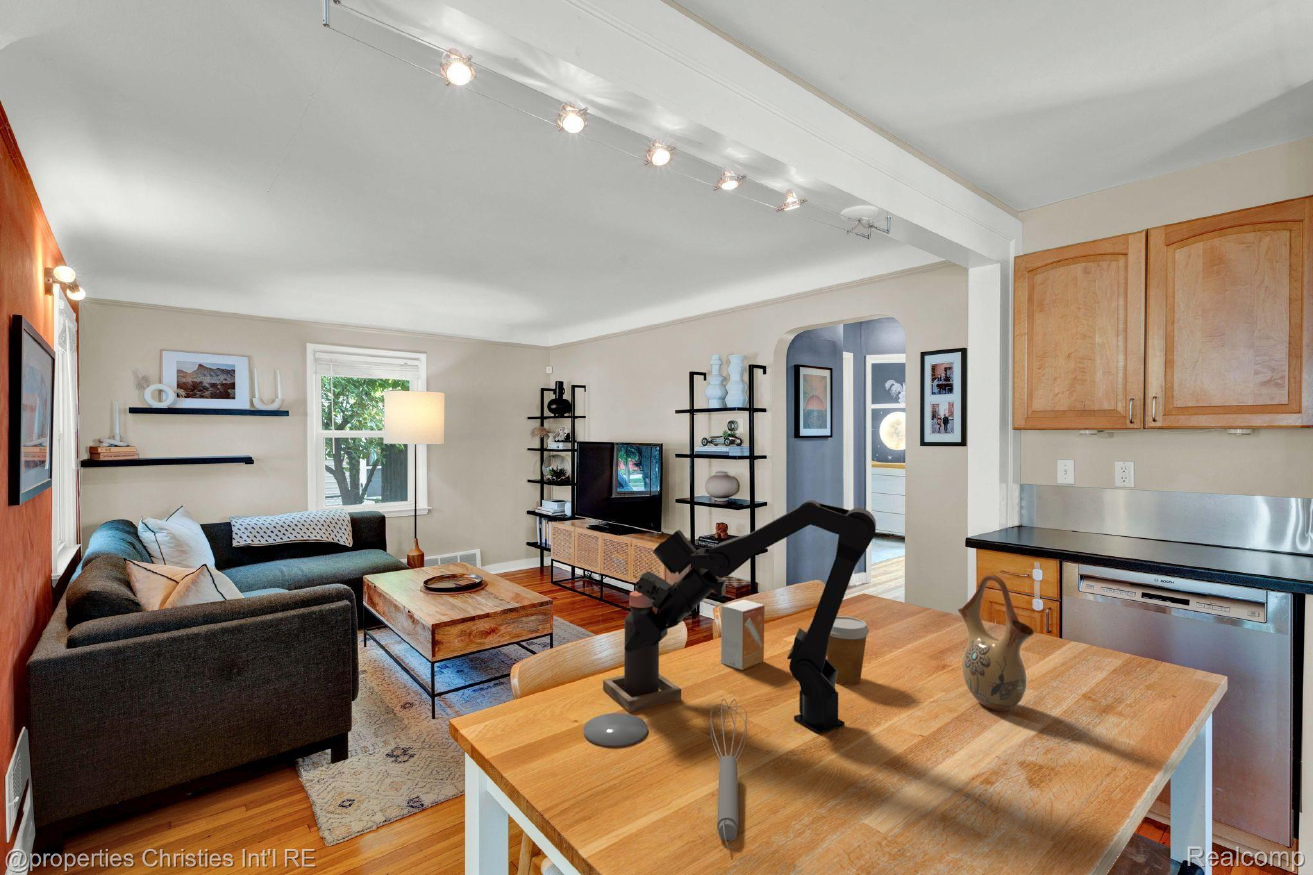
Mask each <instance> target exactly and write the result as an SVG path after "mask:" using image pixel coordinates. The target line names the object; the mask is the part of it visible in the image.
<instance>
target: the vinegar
mask: <svg viewBox="0 0 1313 875" xmlns="http://www.w3.org/2000/svg"><path fill="white" fill-rule="evenodd" d="M654 601H655V600H652V599H650V598H649V597H647V596H645V595H643V594H642V593H638V592H637V591H636V590H634V591H631V592H629V603H628V604H629V608H630V611H629V613H628V614H627V615H626V616H625V618H624V647H625V646H626V644H627V643H628V641H629V639H630V638H631V636H632V635H633V633H634V631H635V626H634V624H633V620H632V619H633V618H635V617H636V616H637V615H638V614H639V613H640V612H641V611H643V610H644V609H652V610H653V609H654V608H655V607H654V606H653V605H652V602H654ZM653 611H654V610H653ZM623 663H624V668H623V669H624V673H623V674H624V675H623V676H624V688H623V691H624V692H626V693H627V694H628V695H629V696H630V697H636V696H641V695H645V694H649V693H653V692H658V691H660V689H659V674H660V673H659V672H660V642H659V643H658V644H656V645H655V646H649V647H645V648H641V649H638V650H634V651H631V652H627V651H626V650H625V649H624V662H623Z"/></svg>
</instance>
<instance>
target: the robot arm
mask: <svg viewBox="0 0 1313 875" xmlns="http://www.w3.org/2000/svg"><path fill="white" fill-rule="evenodd" d="M876 522H877V521H876V519H875V516H874V515H873V514H872V513H871V512H870V510H867V509H866V508H862V507H856V508H852V509H846V508H843V507H839V506H833V505H829V504H824V503H820V502H818V501H816V500H814V499H813V500H811V499H810V500H806V501H804V502H803V503H802V504H800V505H799V506H798V507H796V508H795V509H792V510H790V511H789V512H786V513H784V514H783V515H782V516H779V517H778V518H776V519H774V520H772V521H770V522H768V523H766V524H764V525H763V526H761V527H759V528H757V529H756V530H754V531H752V532H751V533H748V534H744V535H740V536H737V537H734V538H731V539H728V540H725V541H722V542H720V543H718V544H716V545H715V546H713V547H702V548H699V549H696V548H695V547H694V545H693V544H692V543H691V542H690V541H689V540H688V539H687V537H686V536H685V534H684V533H683V532H682V530H680V529H677V530H676V531H675V532H673V533H672V534H671V535H669V537H668V538H666V539H665V540H663V541H661V542H660V543H659V544H658V545H657V546H656V547H655V548H654V549H653V550H652V553H653V555H654V556H655V557H656V558H657V560H659V561H660V562H661V564H662V565H663V566H664V567H665V568H666V569H667V571H668V572H669V573H670V574H671V575H672V574H673V575H676V574H678V575H681V574H684V572H686V570H687V569H689V567H690V566H691V568H690V570H689V571H688V572H686V573H685V574H684V575H683V576H682V577H681V578H680V579H679V580H678V581H675V582H674V583H673V584H671V583H669V582H668V581H667V580H666V579H664V578H662V577H661V576H659V575H657V574H655V573H654V572H652V571H646V572H644V573H642V574H641V575H640V577H639V579H638V580H637V581H636V582H635V588H634V591H637V592H638V593H642V594H643V595H645V596H647V597H649V598H650V599H652V600H654V602H652V605H653V606H654V608H655V609H656V612H655V611H654V610H652V609H644V610H643V611H641V612H640V613H639V614H638V615H637V616H636V617H635V618H633V619H632V620H633V624H634V626H635V631H634V633H633V635H632V636H631V638H630V639H629V641H628V643H627V644H626V646H625V645H624V647H623V649H624V651H625V650H626V651H627V652H631V651H634V650H638V649H641V648H645V647H649V646H655V645H656V644H658V643H659V644H660V642H661V641H662V640H663V639H664V638H665V637H667V635H668V629H671V628H674V627H676V626H678V625H679V624H680V623H682V622H683V621H684V620H685V619H686V618H687V617H688V616H690V614H691V612H692V611H693V610H694V609H695V608H696V607H697V606H699V604H700V603H701V602H702V601H703V600H704V599H705V598H707V597H708V596H709V595H710V594H711V593H713V592H714V594H716V595H717V597H719V598H721V597H723V596H724V595H725V594H726V592H727V589H726V588H727V587H726V584H727V580H726V579H724V578H726V577H728V576H730V575H731V574H733V573H734V572H735V571H737V570H738V569H739V568H741V567H742V565H744V564H745V563H746V562H748V561H749V560H750V559H751V558H753V556H755V555H756V554H758V553H760V552H761V551H763V550H766V549H767V548H769V547H772V546H773V545H775V544H777V543H778V542H780V541H782V540H784V539H786V538H787V537H790V536H792V535H793V534H795V533H797V532H799V531H801V530H803V529H804V528H806V527H809V526H814V527H817V528H819V529H822V530H825V531H827V532H829V533H832V534H835V535H838V539H837V545H836V553H835V558H834V561H833V564H832V567H831V568H830V572H829V575H828V577H827V580H826V582H825V585H824V588H823V591H822V594H821V596H820V599H819V600H818V601H819V602H818V604H817V607H816V610H815V612H814V615H813V618H812V620H811V622H810V625H809V626H808V628H807V629H806V631H805V630H803V629H802V628H800V627H799V628H798V630H797V633H796V634H795V637H794V641H793V645H792V646H791V648H790V651H789V652H788V655H787V657H786V658H787V660H790V662H789V666H788V667H789V671H790V674H791V676H792V677H793V679H795V681H797V682H798V684H799V688H800V690H799V700H798V702H799V706H798V707H799V712H798V713H800V714H796V715H793V719H794V720H795V721H796V722H798V723H800V724H801V725H803V726H805V727H806V728H808V729H810V730H812V731H813V732H815V733H816V734H823V733H825V732H829V731H832V730H836V729H838V728H842V727H844V726H845V725H846V722H845V721H843V720H842V719H840V718H839V692H838V691H837V689H836V685H837V684H836V678H837V673H838V671H837V670H836V669H835V667H834V666H833V665H832V664H831V663H830V662H829V661H828V660H827V650H828V644H829V637H830V633H831V630H832V627H833V625H834V622H835V619H836V617H837V616H838V614H839V612H840V608H841V605H842V603H843V601H844V597H845V596H846V592H847V590H848V586H849V584H850V581H851V579H852V576H853V574H854V571H855V568H856V566H857V564H858V563H859V561H860V560H861V559H862V557H863V555H864V553H865V552H866V551H867V549H868V547H869V545H871V542H873V539H874V538H875V535H876V530H877V523H876ZM721 578H723V579H721Z"/></svg>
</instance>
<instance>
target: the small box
mask: <svg viewBox="0 0 1313 875" xmlns="http://www.w3.org/2000/svg"><path fill="white" fill-rule="evenodd" d="M765 607H766V606H765V604H762V603H758V602H754V601H751V600H747V599H741V600H737V601H733V602H729V603H728V604H724V605H721V611H720V612H721V619H720V620H721V626H720V627H721V628H720V630H721V631H720V640H721V641H720V647H721V648H720V663H721V664H723V665H726V666H729V667H732V668H734V669H737V670H741V671H744V670H745V669H748V668H750V667H753V666H756V665H758V664H760V663H763V662H765V610H766V609H765Z"/></svg>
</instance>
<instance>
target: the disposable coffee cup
mask: <svg viewBox="0 0 1313 875" xmlns="http://www.w3.org/2000/svg"><path fill="white" fill-rule="evenodd" d="M869 633H870V630H869V628H868V625H867V622H866V621H864V620H862V619H859V618H856V617H851V616H845V615H844V616H842V615H841V616H838V615H837V617H836V619H835V622H834V625H833V627H832V630H831V633H830V637H829V644H828V650H827V656H826V659H827V660H828V661H829V662H830V663H831V664H832V665H833V666H834V667H835V669H836V670H837V671H838V673H837V678H836V683H837V684H839V685H847V686H849V685H851V686H853V685H858V684H859V683H860V682H861V678H862V672H863V666H864V665H863V664H864V657H865V650H866V642H867V637H868V634H869Z"/></svg>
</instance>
